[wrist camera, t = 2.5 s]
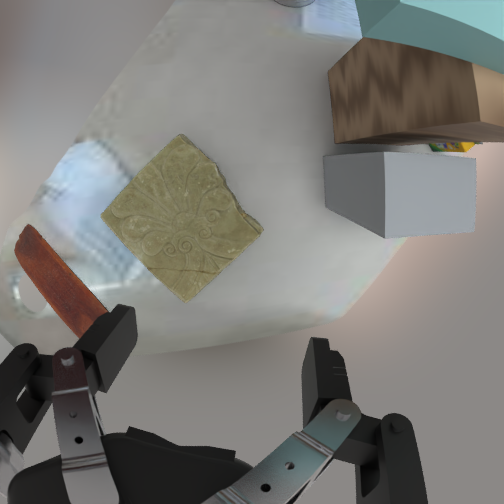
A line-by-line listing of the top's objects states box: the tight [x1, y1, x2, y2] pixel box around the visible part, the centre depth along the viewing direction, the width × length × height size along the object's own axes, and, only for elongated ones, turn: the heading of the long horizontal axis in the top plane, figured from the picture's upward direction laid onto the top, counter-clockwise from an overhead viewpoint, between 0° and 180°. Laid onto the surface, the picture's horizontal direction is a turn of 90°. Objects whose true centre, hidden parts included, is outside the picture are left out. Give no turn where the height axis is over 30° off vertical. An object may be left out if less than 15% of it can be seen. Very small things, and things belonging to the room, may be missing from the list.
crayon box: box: [429, 142, 483, 152], centre depth 38 cm, size 7×3×12 cm, turn 36°
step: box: [323, 152, 476, 239], centre depth 36 cm, size 8×12×21 cm, turn 94°
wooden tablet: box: [14, 224, 108, 338], centre depth 49 cm, size 27×10×2 cm, turn 39°
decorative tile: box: [101, 134, 264, 303], centre depth 45 cm, size 19×20×4 cm
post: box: [328, 37, 504, 145], centre depth 27 cm, size 12×12×32 cm
